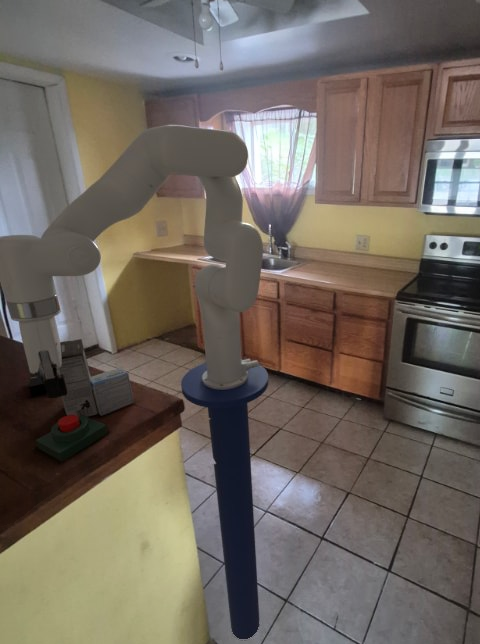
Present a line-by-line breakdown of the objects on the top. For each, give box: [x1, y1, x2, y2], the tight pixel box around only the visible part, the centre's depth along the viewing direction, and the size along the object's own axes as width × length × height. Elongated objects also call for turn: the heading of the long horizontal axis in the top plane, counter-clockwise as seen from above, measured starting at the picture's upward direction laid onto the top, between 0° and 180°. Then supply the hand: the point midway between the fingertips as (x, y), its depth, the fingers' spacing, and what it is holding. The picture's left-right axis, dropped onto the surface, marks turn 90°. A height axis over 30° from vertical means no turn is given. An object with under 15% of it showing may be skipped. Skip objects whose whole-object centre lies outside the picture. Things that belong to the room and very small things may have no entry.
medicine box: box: [91, 367, 135, 417], centre depth 88 cm, size 8×4×9 cm, turn 135°
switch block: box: [35, 415, 108, 463], centre depth 77 cm, size 10×8×4 cm
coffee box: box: [60, 338, 99, 418], centre depth 85 cm, size 9×6×16 cm
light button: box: [57, 415, 80, 432], centre depth 76 cm, size 4×4×2 cm
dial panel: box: [28, 371, 47, 398], centre depth 98 cm, size 9×9×3 cm
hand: (58, 394), depth 73 cm, fingers closed
